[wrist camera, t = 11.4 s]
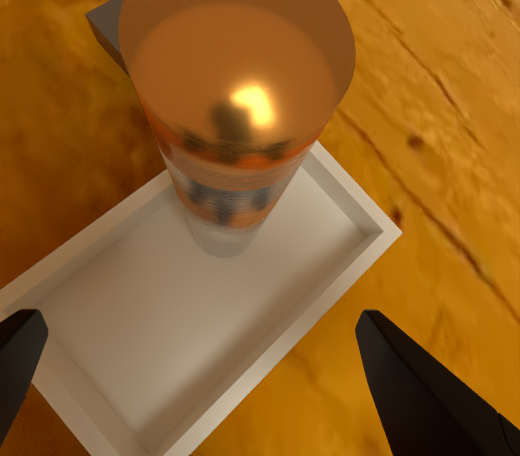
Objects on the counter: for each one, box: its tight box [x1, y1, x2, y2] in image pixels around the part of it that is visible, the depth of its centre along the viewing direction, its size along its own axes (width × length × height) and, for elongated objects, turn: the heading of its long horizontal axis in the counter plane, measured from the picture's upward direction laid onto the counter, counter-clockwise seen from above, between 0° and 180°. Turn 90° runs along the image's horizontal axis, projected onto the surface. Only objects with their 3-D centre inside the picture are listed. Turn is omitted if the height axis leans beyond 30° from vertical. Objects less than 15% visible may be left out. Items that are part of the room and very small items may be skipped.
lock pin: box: [118, 0, 356, 258], centre depth 11 cm, size 4×4×13 cm
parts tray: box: [0, 140, 403, 456], centre depth 16 cm, size 11×18×3 cm, turn 132°
